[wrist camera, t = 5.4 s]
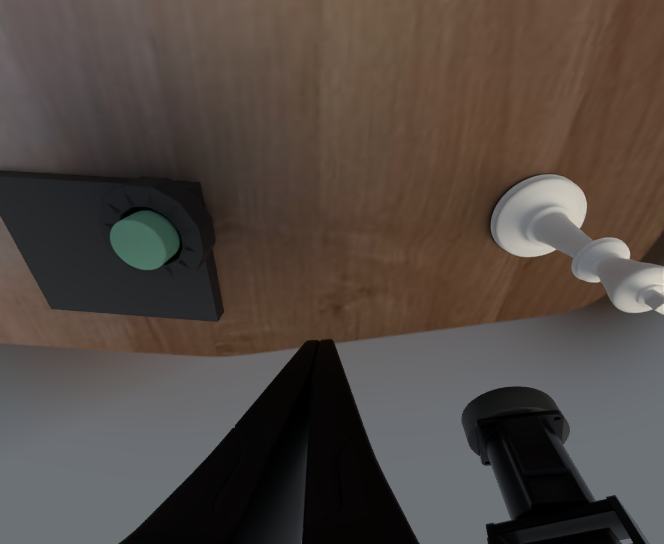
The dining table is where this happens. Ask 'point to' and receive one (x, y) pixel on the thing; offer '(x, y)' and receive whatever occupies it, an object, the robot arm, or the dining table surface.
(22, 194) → the black button base
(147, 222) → the button
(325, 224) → the dining table surface
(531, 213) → the chess piece
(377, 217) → the dining table surface
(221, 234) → the dining table surface
